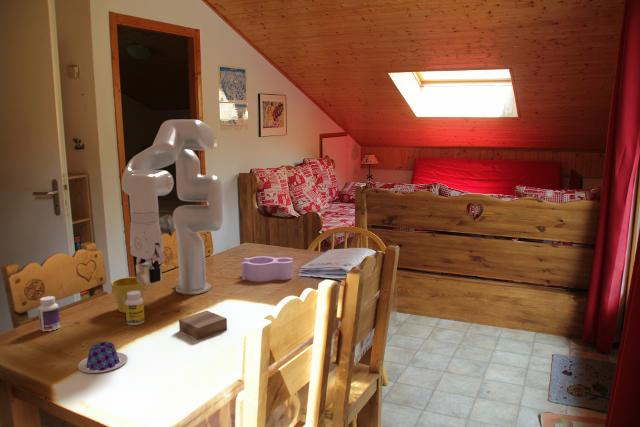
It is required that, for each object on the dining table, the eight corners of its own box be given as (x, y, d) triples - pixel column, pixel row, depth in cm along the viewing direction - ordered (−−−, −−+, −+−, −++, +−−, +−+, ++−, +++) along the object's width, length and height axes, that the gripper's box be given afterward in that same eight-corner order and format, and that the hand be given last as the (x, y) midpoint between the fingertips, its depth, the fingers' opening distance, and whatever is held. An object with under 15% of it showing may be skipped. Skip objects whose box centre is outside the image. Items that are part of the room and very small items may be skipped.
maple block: (137, 281, 151) (135, 264, 150) (152, 277, 155) (151, 260, 154) (146, 284, 148) (145, 267, 147) (162, 280, 152) (161, 263, 151)
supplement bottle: (128, 326, 162) (125, 296, 160) (125, 321, 167) (123, 291, 165) (146, 323, 164) (144, 293, 163) (143, 317, 169) (141, 288, 167)
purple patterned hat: (97, 352, 145) (95, 334, 144) (136, 356, 142) (135, 338, 141) (67, 373, 133) (65, 353, 132) (110, 377, 131) (108, 357, 130)
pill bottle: (64, 326, 163) (61, 296, 161) (50, 333, 158) (47, 301, 156) (50, 324, 165) (47, 294, 163) (36, 330, 160) (33, 300, 158)
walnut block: (179, 332, 158) (178, 319, 158) (207, 322, 165) (206, 310, 165) (199, 341, 152) (198, 328, 151) (227, 331, 159) (226, 318, 158)
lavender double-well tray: (294, 272, 218) (293, 256, 216) (292, 281, 205) (292, 264, 204) (245, 272, 218) (244, 256, 217) (240, 282, 205) (240, 264, 204)
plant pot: (151, 308, 177) (149, 280, 175) (122, 317, 170) (120, 288, 168) (136, 301, 184) (134, 274, 182) (107, 309, 177) (105, 281, 175)
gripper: (116, 216, 151) (121, 277, 154) (150, 223, 140) (155, 289, 143) (140, 212, 156) (144, 271, 160) (174, 218, 146) (178, 282, 149)
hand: (149, 279), depth 151 cm, fingers closed on maple block, 5 cm apart
